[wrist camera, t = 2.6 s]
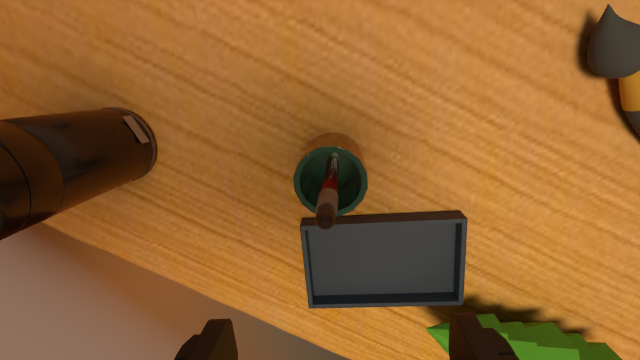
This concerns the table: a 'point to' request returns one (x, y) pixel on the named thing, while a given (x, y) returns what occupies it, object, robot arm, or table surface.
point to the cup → (349, 176)
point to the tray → (386, 260)
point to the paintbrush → (618, 59)
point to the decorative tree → (535, 340)
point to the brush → (328, 196)
